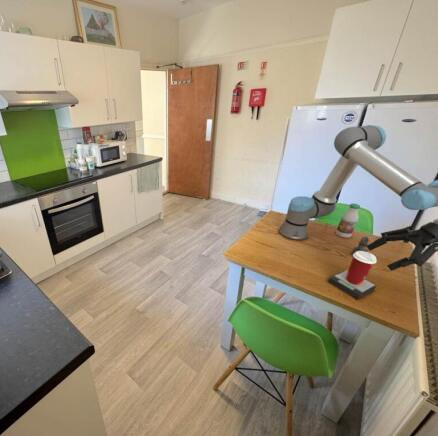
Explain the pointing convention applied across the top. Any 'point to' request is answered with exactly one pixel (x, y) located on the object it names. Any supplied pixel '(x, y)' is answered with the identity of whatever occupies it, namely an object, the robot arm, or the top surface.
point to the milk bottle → (348, 221)
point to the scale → (351, 285)
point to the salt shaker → (361, 245)
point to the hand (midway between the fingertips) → (377, 257)
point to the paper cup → (360, 267)
